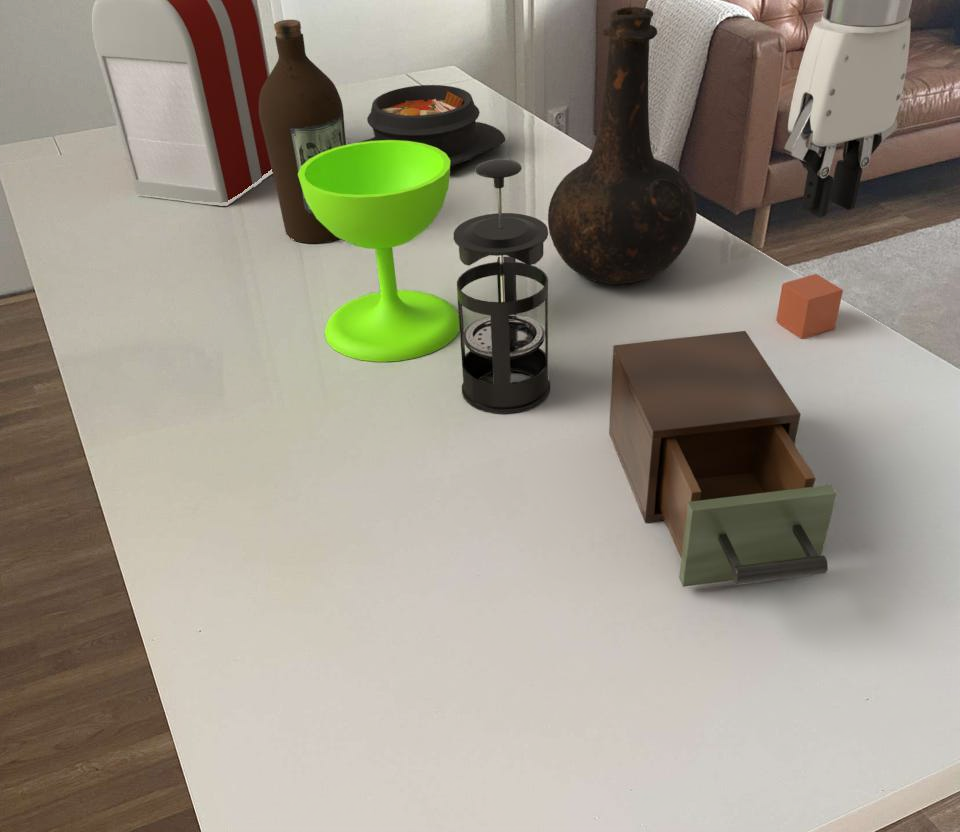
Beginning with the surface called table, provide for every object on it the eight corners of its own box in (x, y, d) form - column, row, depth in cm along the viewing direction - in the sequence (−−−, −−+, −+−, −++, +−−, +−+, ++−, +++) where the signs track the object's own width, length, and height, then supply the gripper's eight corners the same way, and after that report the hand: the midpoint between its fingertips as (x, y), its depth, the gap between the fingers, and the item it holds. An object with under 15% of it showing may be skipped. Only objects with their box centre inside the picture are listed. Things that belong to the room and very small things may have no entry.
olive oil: (268, 228, 140) (227, 23, 122) (334, 207, 144) (305, 6, 126) (304, 253, 133) (267, 40, 116) (372, 231, 137) (347, 22, 120)
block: (808, 312, 116) (816, 273, 112) (834, 329, 113) (843, 289, 109) (775, 321, 114) (782, 283, 111) (801, 339, 111) (808, 299, 108)
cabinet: (782, 506, 91) (801, 413, 84) (645, 523, 90) (652, 431, 83) (732, 418, 101) (745, 330, 94) (608, 433, 100) (613, 345, 93)
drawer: (842, 613, 79) (864, 536, 74) (701, 631, 78) (712, 555, 73) (763, 475, 92) (777, 401, 87) (642, 489, 92) (648, 415, 86)
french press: (548, 417, 103) (548, 186, 86) (456, 417, 103) (439, 187, 87) (552, 359, 111) (553, 137, 95) (467, 359, 112) (453, 139, 96)
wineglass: (482, 341, 114) (474, 177, 102) (348, 374, 111) (322, 209, 98) (432, 284, 125) (419, 130, 112) (308, 313, 121) (280, 157, 109)
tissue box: (133, 196, 151) (73, -15, 132) (199, 154, 162) (152, -46, 143) (227, 207, 146) (178, -9, 127) (288, 163, 157) (252, -42, 138)
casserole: (478, 126, 165) (476, 69, 159) (525, 163, 153) (524, 103, 147) (332, 154, 159) (324, 96, 153) (368, 195, 147) (360, 133, 141)
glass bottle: (612, 316, 117) (625, 46, 97) (518, 265, 128) (513, 12, 108) (721, 270, 124) (754, 9, 104) (623, 226, 135) (637, -19, 115)
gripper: (908, -18, 96) (865, 181, 109) (767, 9, 92) (740, 213, 105) (967, -2, 91) (914, 204, 104) (821, 28, 87) (785, 239, 100)
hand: (827, 207), depth 104 cm, fingers closed
